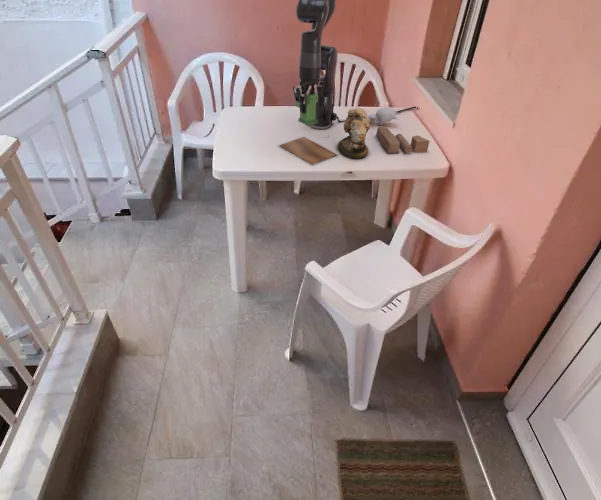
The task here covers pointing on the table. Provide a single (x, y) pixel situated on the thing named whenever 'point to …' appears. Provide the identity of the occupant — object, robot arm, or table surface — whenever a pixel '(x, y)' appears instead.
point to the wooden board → (308, 150)
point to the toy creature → (383, 116)
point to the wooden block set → (400, 142)
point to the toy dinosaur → (309, 110)
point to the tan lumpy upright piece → (355, 134)
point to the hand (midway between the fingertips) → (308, 111)
